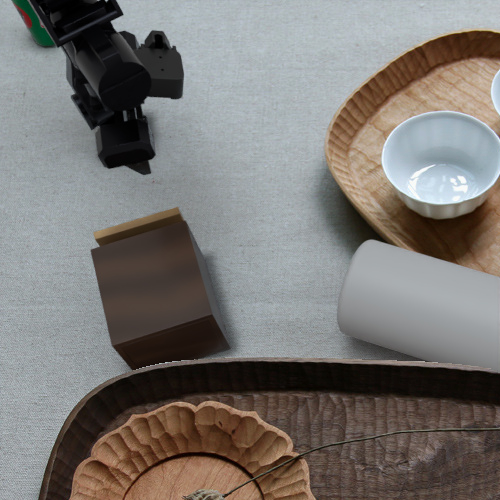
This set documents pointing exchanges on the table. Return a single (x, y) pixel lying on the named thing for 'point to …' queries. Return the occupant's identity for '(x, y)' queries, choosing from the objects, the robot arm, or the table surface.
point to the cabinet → (159, 298)
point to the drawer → (138, 226)
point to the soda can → (33, 23)
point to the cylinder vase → (421, 306)
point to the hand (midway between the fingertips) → (143, 145)
